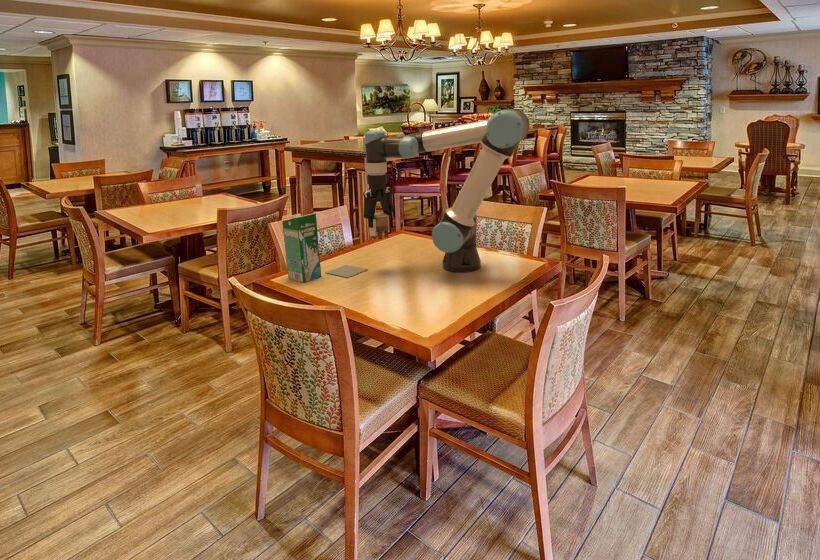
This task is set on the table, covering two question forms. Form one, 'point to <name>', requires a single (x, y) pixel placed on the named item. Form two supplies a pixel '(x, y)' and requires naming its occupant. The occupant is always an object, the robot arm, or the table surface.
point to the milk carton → (302, 247)
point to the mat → (346, 271)
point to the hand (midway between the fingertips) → (379, 233)
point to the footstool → (381, 224)
